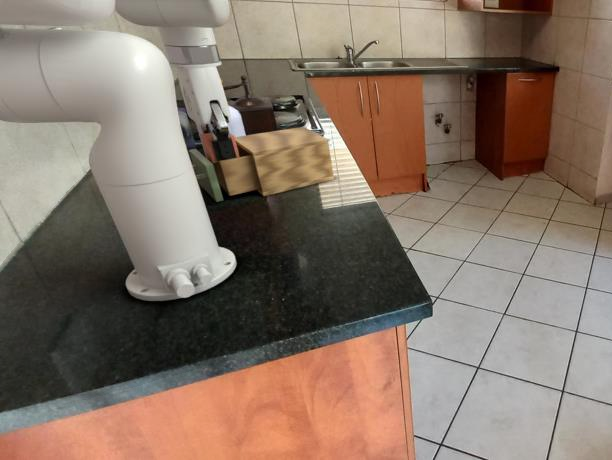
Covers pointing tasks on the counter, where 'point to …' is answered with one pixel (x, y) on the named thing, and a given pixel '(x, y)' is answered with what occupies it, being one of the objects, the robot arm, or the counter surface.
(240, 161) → the drawer
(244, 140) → the cabinet
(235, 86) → the pepper mill
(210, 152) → the block
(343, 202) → the counter surface
